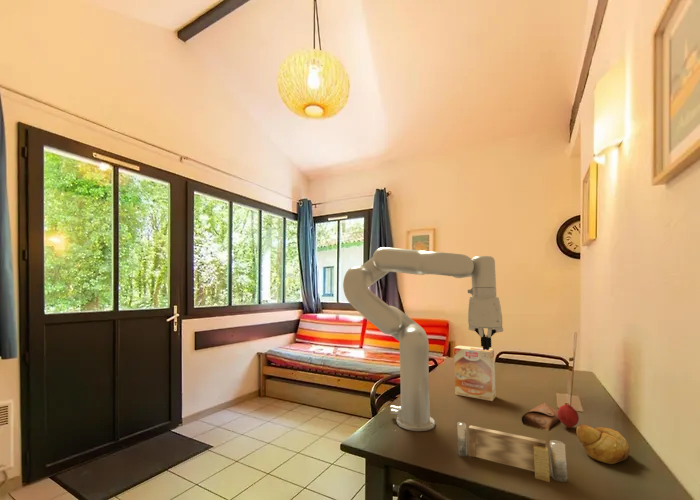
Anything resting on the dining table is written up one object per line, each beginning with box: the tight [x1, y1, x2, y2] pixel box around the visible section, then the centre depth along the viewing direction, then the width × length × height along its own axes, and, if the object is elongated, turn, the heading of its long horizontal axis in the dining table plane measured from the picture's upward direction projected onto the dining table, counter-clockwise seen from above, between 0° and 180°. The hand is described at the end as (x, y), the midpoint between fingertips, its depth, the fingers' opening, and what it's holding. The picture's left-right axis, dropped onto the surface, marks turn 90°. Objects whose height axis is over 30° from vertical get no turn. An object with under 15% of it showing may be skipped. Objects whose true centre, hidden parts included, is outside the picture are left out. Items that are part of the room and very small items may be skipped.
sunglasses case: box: [521, 402, 560, 431], centre depth 115 cm, size 18×7×7 cm
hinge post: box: [456, 421, 468, 458], centre depth 92 cm, size 2×2×8 cm
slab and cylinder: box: [534, 439, 568, 483], centre depth 81 cm, size 7×5×8 cm
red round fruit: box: [557, 401, 580, 429], centre depth 109 cm, size 6×6×8 cm
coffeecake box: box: [453, 345, 497, 402], centre depth 141 cm, size 15×7×20 cm, turn 56°
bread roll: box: [576, 424, 631, 465], centre depth 91 cm, size 13×10×8 cm
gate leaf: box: [468, 424, 547, 472], centre depth 87 cm, size 18×2×7 cm, turn 59°
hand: (486, 349), depth 110 cm, fingers closed
